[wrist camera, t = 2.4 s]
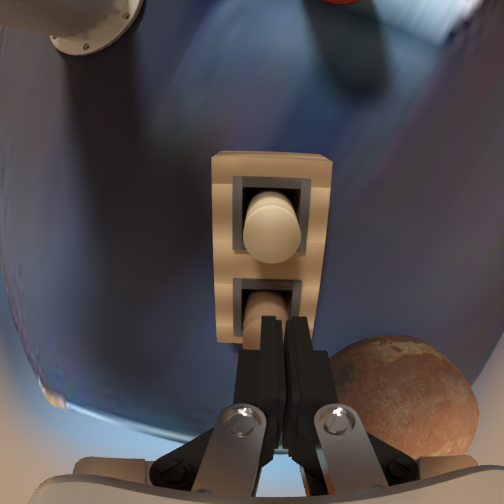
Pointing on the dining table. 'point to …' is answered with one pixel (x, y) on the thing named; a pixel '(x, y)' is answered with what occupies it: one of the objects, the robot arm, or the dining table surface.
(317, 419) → the robot arm
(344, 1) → the canned food
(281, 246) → the maple peg
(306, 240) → the oak block
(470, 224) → the dining table surface
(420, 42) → the dining table surface
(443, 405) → the pottery
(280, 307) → the walnut peg
